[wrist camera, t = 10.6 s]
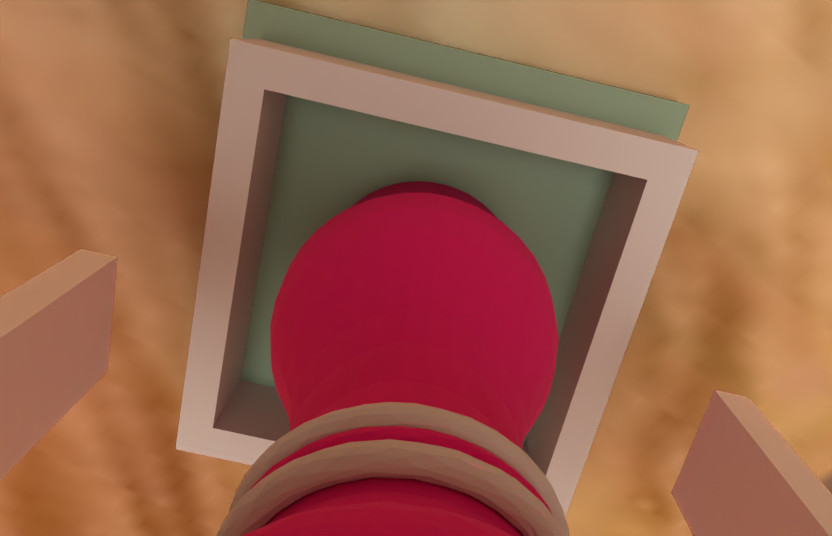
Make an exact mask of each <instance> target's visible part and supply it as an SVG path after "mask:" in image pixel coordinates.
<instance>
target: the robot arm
mask: <svg viewBox="0 0 832 536" xmlns="http://www.w3.org/2000/svg"><path fill="white" fill-rule="evenodd" d="M116 267H117V257H116V256H111V255H107V254H102V253H98V252H93V251H89V250H84V249H80V250H78V251H76V252H75V253H73V254H71V255H70V256H68V257H66V258H65V259H63V260H61V261H60V262H58V263H56V264H55V265H53V266H51V267H50V268H48V269H46V270H45V271H43V272H41V273H40V274H38V275H36V276H35V277H33V278H31V279H30V280H28V281H26V282H25V283H23V284H21V285H20V286H18V287H16V288H15V289H13V290H11V291H10V292H8V293H6V294H5V295H3V296H1V297H0V480H1V479H2V478H3V477H4V476H5V475H6V474H7V473H8V472H9V471H10V470H11V469H12V468H13V467H14V466H15V465H16V464H17V463H18V462H19V461H20V460H21V459H22V458H23V457H24V456H25V455H26V454H27V453H28V452H29V451H30V450H31V449H32V448H33V447H34V446H35V445H36V444H37V443H38V442H39V441H40V440H41V439H42V438H43V437H44V436H45V434H46V433H47V432H48V431H49V430H50V429H51V428H52V427H53V426H54V425H55V424H56V423H57V422H58V421H59V420H60V419H61V418H62V417H63V416H64V415H65V414H66V413H67V412H68V411H69V410H70V409H71V408H72V407H73V406H74V405H75V404H76V403H77V402H78V401H79V400H80V399H81V398H82V397H83V396H84V395H85V394H86V393H87V392H88V391H89V390H90V389H91V388H92V387H93V386H94V384H95V383H96V382H97V381H98V380H99V379H100V378H101V377H102V376H103V375H104V374H105V373H106V372H107V369H108V358H109V347H110V335H111V324H112V312H113V301H114V290H115V278H116ZM671 493H672V495H673V497H674V499H675V501H676V502H677V504H678V506H679V508H680V510H681V512H682V514H683V516H684V518H685V520H686V522H687V524H688V526H689V528H690V530H691V532H692V534H693V536H832V494H831V493H830V492H829V491H828V489H827V488H826V487H825V486H824V485H823V484H822V482H821V481H820V480H819V479H818V478H817V477H816V475H815V474H814V473H813V472H812V471H811V470H810V468H809V467H808V466H807V465H806V464H805V463H804V462H803V460H802V459H801V458H800V457H799V456H798V455H797V453H796V452H795V451H794V450H793V449H792V448H791V446H790V445H789V444H788V443H787V442H786V441H785V439H784V438H783V437H782V436H781V435H780V434H779V432H778V431H777V430H776V429H775V428H774V427H773V425H772V424H771V423H770V422H769V421H768V420H767V418H766V417H765V416H764V415H763V414H762V413H761V411H760V410H759V409H758V408H757V407H756V406H755V405H754V403H753V402H752V401H751V400H750V399H749V398H748V397H745V396H740V395H736V394H731V393H727V392H722V391H718V390H715V391H714V393H713V396H712V398H711V400H710V403H709V405H708V407H707V410H706V412H705V414H704V417H703V419H702V422H701V424H700V426H699V429H698V431H697V433H696V436H695V438H694V440H693V443H692V445H691V447H690V450H689V452H688V455H687V457H686V459H685V462H684V464H683V466H682V469H681V471H680V473H679V476H678V478H677V480H676V483H675V485H674V488H673V490H672V492H671Z"/></svg>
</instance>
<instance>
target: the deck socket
mask: <svg viewBox="0 0 832 536" xmlns="http://www.w3.org/2000/svg"><path fill="white" fill-rule="evenodd" d="M688 108H689V105H687V104H683V103H679V102H675V101H671V100H667V99H662V98H658V97H654V96H650V95H646V94H642V93H638V92H634V91H629V90H625V89H621V88H617V87H613V86H609V85H605V84H601V83H596V82H592V81H588V80H584V79H580V78H576V77H572V76H568V75H563V74H559V73H555V72H551V71H547V70H543V69H539V68H535V67H530V66H526V65H522V64H518V63H514V62H510V61H506V60H501V59H497V58H493V57H489V56H485V55H481V54H477V53H473V52H468V51H464V50H460V49H456V48H452V47H448V46H444V45H440V44H435V43H431V42H427V41H423V40H419V39H415V38H411V37H407V36H402V35H398V34H394V33H390V32H386V31H382V30H378V29H374V28H369V27H365V26H361V25H357V24H353V23H349V22H345V21H340V20H336V19H332V18H328V17H324V16H320V15H316V14H312V13H307V12H303V11H299V10H295V9H291V8H287V7H283V6H279V5H274V4H270V3H266V2H262V1H258V0H248V5H247V12H246V19H245V26H244V33H243V39H230V44H229V52H228V59H227V67H226V74H225V82H224V89H223V97H222V105H221V112H220V120H219V127H218V135H217V142H216V150H215V157H214V165H213V172H212V180H211V187H210V195H209V202H208V210H207V217H206V225H205V232H204V240H203V247H202V255H201V262H200V270H199V277H198V285H197V292H196V300H195V307H194V315H193V322H192V330H191V337H190V345H189V352H188V360H187V367H186V375H185V382H184V390H183V397H182V405H181V412H180V420H179V427H178V435H177V442H176V449H177V450H182V451H187V452H191V453H196V454H201V455H205V456H210V457H215V458H220V459H224V460H229V461H234V462H239V463H243V464H248V465H253V464H254V463H255V462H256V460H257V459H258V458H259V457H260V456H261V455H262V454H263V453H264V452H265V451H266V449H267V448H268V447H270V446H271V445H272V444H273V443H274V442H276V441H277V440H278V439H279V438H281V437H282V436H284V435H285V434H287V433H289V432H290V425H289V418H288V415H287V412H286V410H285V408H284V406H283V404H282V401H281V399H280V397H279V395H278V392H277V390H276V386H275V382H274V378H273V373H272V367H271V344H270V324H271V319H272V315H273V310H274V305H275V300H276V298H277V295H278V293H279V290H280V288H281V285H282V283H283V280H284V278H285V275H286V273H287V271H288V268H289V266H290V264H291V262H292V261H293V259H294V258H295V256H296V254H297V253H298V251H299V250H300V248H301V247H302V246H303V245H304V243H305V242H306V241H307V240H308V239H309V238H310V237H311V236H312V234H313V233H314V232H315V231H316V230H318V229H319V228H320V227H321V226H323V225H324V224H325V223H326V222H328V221H329V220H330V219H331V218H333V217H334V216H336V215H338V214H339V213H341V212H343V211H344V210H346V209H348V208H350V207H352V206H353V205H354V204H355V203H357V202H358V201H359V200H361V199H362V198H363V197H365V196H366V195H368V194H370V193H372V192H374V191H376V190H378V189H381V188H383V187H386V186H390V185H393V184H398V183H403V182H414V181H423V182H433V183H439V184H444V185H448V186H450V187H453V188H456V189H459V190H461V191H463V192H465V193H467V194H469V195H471V196H472V197H474V198H475V199H477V200H478V201H480V202H481V203H483V204H484V205H485V206H486V207H487V208H488V209H489V210H490V211H491V212H492V213H493V214H494V215H495V216H496V217H497V219H498V220H500V221H501V222H503V223H504V224H505V225H506V226H507V227H509V228H510V229H511V230H512V231H513V232H514V233H515V234H516V235H517V236H518V237H519V238H520V239H521V240H522V241H523V242H524V244H525V245H526V246H527V247H528V249H529V250H530V251H531V253H532V254H533V255H534V256H535V258H536V260H537V262H538V264H539V266H540V268H541V269H542V271H543V273H544V275H545V278H546V281H547V284H548V287H549V290H550V293H551V296H552V301H553V306H554V311H555V317H556V324H557V331H558V337H559V340H558V348H557V357H556V366H555V372H554V376H553V381H552V385H551V389H550V393H549V395H548V398H547V400H546V403H545V405H544V407H543V410H542V412H541V413H540V415H539V417H538V418H537V420H536V421H535V423H534V424H533V426H532V428H531V429H530V431H529V432H528V434H527V435H526V437H525V438H524V440H523V444H522V450H523V451H524V452H525V453H526V454H527V455H528V456H529V457H530V458H531V459H532V460H533V462H534V463H535V464H536V465H537V466H538V467H539V469H540V470H541V471H542V472H543V473H544V474H545V476H546V477H547V479H548V481H549V482H550V484H551V485H552V487H553V489H554V491H555V493H556V495H557V498H558V500H559V502H560V504H561V506H562V509H563V511H564V515H565V517H566V514H567V511H568V509H569V506H570V503H571V500H572V498H573V495H574V492H575V489H576V487H577V484H578V481H579V478H580V476H581V473H582V470H583V467H584V465H585V462H586V459H587V456H588V454H589V451H590V448H591V445H592V443H593V440H594V437H595V434H596V432H597V429H598V426H599V423H600V421H601V418H602V415H603V412H604V410H605V407H606V404H607V401H608V399H609V396H610V393H611V390H612V388H613V385H614V382H615V379H616V377H617V374H618V371H619V368H620V366H621V363H622V360H623V357H624V355H625V352H626V349H627V346H628V344H629V341H630V338H631V335H632V333H633V330H634V327H635V324H636V322H637V319H638V316H639V313H640V311H641V308H642V305H643V302H644V300H645V297H646V294H647V291H648V289H649V286H650V283H651V280H652V278H653V275H654V272H655V269H656V267H657V264H658V261H659V258H660V256H661V253H662V250H663V247H664V245H665V242H666V239H667V236H668V234H669V231H670V228H671V225H672V223H673V220H674V217H675V214H676V212H677V209H678V206H679V203H680V201H681V198H682V195H683V192H684V190H685V187H686V184H687V181H688V179H689V176H690V173H691V170H692V168H693V165H694V162H695V159H696V157H697V154H698V150H696V149H693V148H691V147H688V146H686V145H684V144H681V143H679V142H677V139H678V137H679V134H680V131H681V128H682V125H683V122H684V119H685V117H686V114H687V111H688Z"/></svg>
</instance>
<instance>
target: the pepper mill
mask: <svg viewBox="0 0 832 536" xmlns="http://www.w3.org/2000/svg"><path fill="white" fill-rule="evenodd" d="M558 340H559V337H558V331H557V324H556V317H555V311H554V306H553V301H552V296H551V293H550V290H549V287H548V284H547V281H546V278H545V275H544V273H543V271H542V269H541V268H540V266H539V264H538V262H537V260H536V258H535V256H534V255H533V254H532V253H531V251H530V250H529V249H528V247H527V246H526V245H525V244H524V242H523V241H522V240H521V239H520V238H519V237H518V236H517V235H516V234H515V233H514V232H513V231H512V230H511V229H510V228H509V227H507V226H506V225H505V224H504V223H503V222H501V221H500V220H498V219H497V217H496V216H495V215H494V214H493V213H492V212H491V211H490V210H489V209H488V208H487V207H486V206H485V205H484V204H483V203H481V202H480V201H478V200H477V199H475V198H474V197H472V196H471V195H469V194H467V193H465V192H463V191H461V190H459V189H456V188H453V187H450V186H448V185H444V184H439V183H433V182H423V181H414V182H403V183H398V184H393V185H390V186H386V187H383V188H381V189H378V190H376V191H374V192H372V193H370V194H368V195H366V196H365V197H363V198H362V199H361V200H359V201H358V202H357V203H355V204H354V205H353V206H352V207H350V208H348V209H346V210H344V211H343V212H341V213H339V214H338V215H336V216H334V217H333V218H331V219H330V220H329V221H328V222H326V223H325V224H324V225H323V226H321V227H320V228H319V229H318V230H316V231H315V232H314V233H313V234H312V236H311V237H310V238H309V239H308V240H307V241H306V242H305V243H304V245H303V246H302V247H301V248H300V250H299V251H298V253H297V254H296V256H295V258H294V259H293V261H292V262H291V264H290V266H289V268H288V271H287V273H286V275H285V278H284V280H283V283H282V285H281V288H280V290H279V293H278V295H277V298H276V300H275V305H274V310H273V315H272V319H271V324H270V344H271V367H272V373H273V378H274V382H275V386H276V390H277V392H278V395H279V397H280V399H281V401H282V404H283V406H284V408H285V410H286V412H287V415H288V418H289V425H290V432H289V433H287V434H285V435H284V436H282V437H281V438H279V439H278V440H277V441H276V442H274V443H273V444H272V445H271V446H270V447H268V448H267V449H266V451H265V452H264V453H263V454H262V455H261V456H260V457H259V458H258V459H257V460H256V462H255V463H254V464H253V465H252V467H251V468H250V469H249V470H248V472H247V473H246V474H245V476H244V478H243V480H242V481H241V483H240V485H239V487H238V488H237V490H236V493H235V496H234V498H233V501H232V504H231V507H230V510H229V514H228V515H227V517H226V518H225V520H224V522H223V523H222V525H221V527H220V529H219V532H218V534H217V536H569V529H568V525H567V522H566V518H565V515H564V511H563V509H562V506H561V504H560V502H559V500H558V498H557V495H556V493H555V491H554V489H553V487H552V485H551V484H550V482H549V481H548V479H547V477H546V476H545V474H544V473H543V472H542V471H541V470H540V469H539V467H538V466H537V465H536V464H535V463H534V462H533V460H532V459H531V458H530V457H529V456H528V455H527V454H526V453H525V452H524V451H523V450H522V444H523V440H524V438H525V437H526V435H527V434H528V432H529V431H530V429H531V428H532V426H533V424H534V423H535V421H536V420H537V418H538V417H539V415H540V413H541V412H542V410H543V407H544V405H545V403H546V400H547V398H548V395H549V393H550V389H551V385H552V381H553V376H554V372H555V366H556V357H557V348H558Z"/></svg>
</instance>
